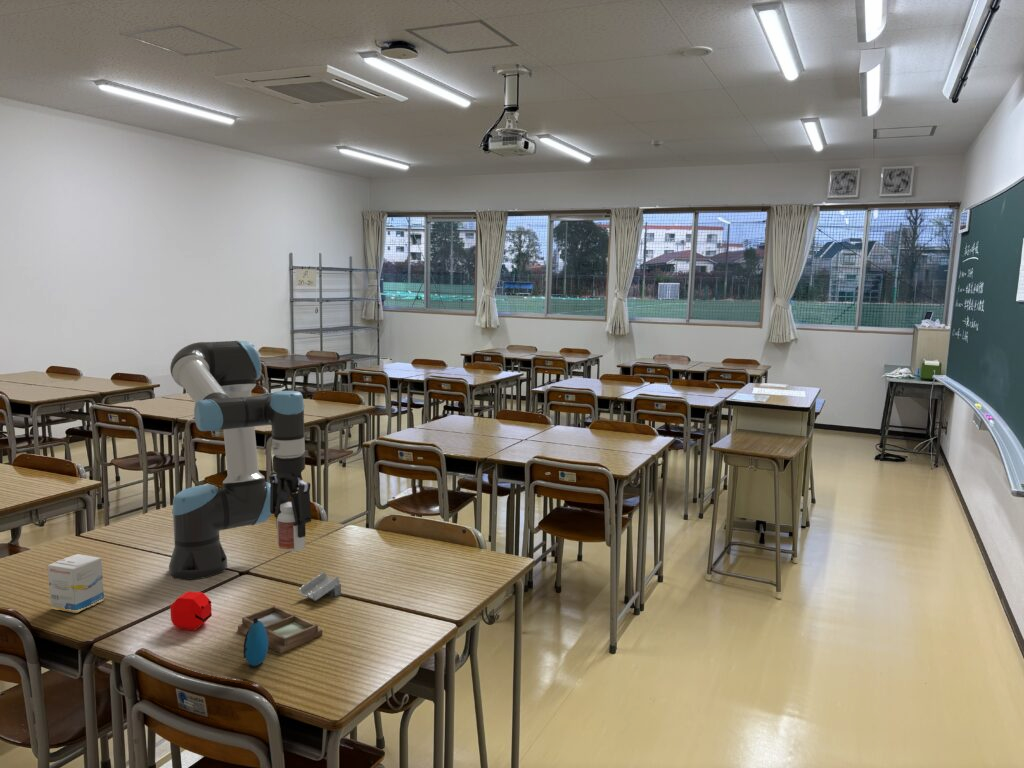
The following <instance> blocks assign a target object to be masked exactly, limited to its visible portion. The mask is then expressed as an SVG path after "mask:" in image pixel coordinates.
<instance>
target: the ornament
mask: <svg viewBox="0 0 1024 768" xmlns="http://www.w3.org/2000/svg"><path fill="white" fill-rule="evenodd" d="M268 651H269V647H268V637H267V633H266V630H265V627H264V625H263V624H262V622H261V621H258V619H257V618H255V619H254V623H253V624H252V625H251V626H250V628H249V630H248V631H247V634H246V635H245V637H244V643H243V658H245V659H246V662H247V664H248V665H250V666H252V667H256V666H259V665H260V664H261V663H263V662H264V661H265V659H266V657H267V654H268Z"/></svg>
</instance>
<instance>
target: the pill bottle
mask: <svg viewBox="0 0 1024 768" xmlns="http://www.w3.org/2000/svg"><path fill="white" fill-rule="evenodd" d="M280 511H281V513H280V514H279V515H278V517H277V523H276V524H277V526H278V544H277V547H278V549H279V550H280V551H283V552H295V551H294V530H293V524H294V523H296V522H295V518H294V513H293V508H292V504H291V501H288V502H286V503H282V504H281V505H280ZM299 520H300V519H299Z"/></svg>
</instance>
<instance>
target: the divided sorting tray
mask: <svg viewBox="0 0 1024 768" xmlns="http://www.w3.org/2000/svg"><path fill="white" fill-rule="evenodd" d="M255 618H257V619H258V621H261V622H262V624H263V625H264V627H265V630H266V633H267V637H268V648H270V649H272V650H274V651H276V652H278V653H279V654H283V653H285V652H287V651H290V650H292V649H294V648H296V647H298V646H300V645H303V644H305V643H308V642H310V641H311V640H314V639H316V638H319V637H320V636H322V635H323V629H321V628H319V625H318V624H316V623H314V622H311V621H310V620H307V619H305V618H303V617H301V616H299V615H296V614H294V613H292V612H290V611H287V610H286V609H283V608H282V607H279V606H277V605H272V606H270V607H267V608H264V609H261V610H259V611H257V612H254V613H252V614H249V615H246V616H244V617H242V619H241V622H242V624H238V625H237V631H238V632H240V633H242V634H243V635H245V636H246V634H247V631H248V630H249V628H250V626H251V625H252V624H253V623H254V619H255Z"/></svg>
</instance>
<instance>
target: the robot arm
mask: <svg viewBox="0 0 1024 768" xmlns="http://www.w3.org/2000/svg"><path fill="white" fill-rule="evenodd" d="M169 366H170V367H169V369H170V371H169V372H170V376H171V377H172V379H173V380H174V382H175V383H176V384H177V385H178V386H179V387H182V388H183V389H184V390H185V391H186V393H187V394H188V396H189V398H191V400H192V401H193V403H194V407H193V408H194V410H193V417H194V422H195V425H196V428H197V429H198V430H199V431H201V432H207V431H208V432H209V431H210V432H218V431H223V439H224V448H225V451H224V452H225V460H226V461H225V462H226V472H227V476H226V478H225V479H224V480H223V481H222V488H221V489H219V488H218V487H217V485H214V484H202V485H201V484H200V485H195V486H191V487H188V488H186V489H183V490H180V491H179V492H177V493H176V494H175V496H174V497H173V499H172V511H171V513H172V515H173V516H172V521H173V536H174V537H173V539H174V540H173V541H174V548H173V550H172V553H171V554H172V555H171V557H170V561H169V564H168V573H169V576H170V575H171V576H172V578H173V577H174V579H177V578H178V579H179V580H197V579H198V580H199V579H203V578H209V577H213V576H215V575H218V574H220V573H222V572H224V571H225V570H226V569H227V568H228V557H227V556H226V553H225V550H224V548H223V546H222V543H221V541H220V531H225V530H230V529H235V528H236V529H237V528H242V527H245V526H255V525H257V524H261V523H265V522H267V521H268V520H269V519H270V517H271V515H274V516H273V517H274V518H275V521H276V525H275V526H276V537H277V538H276V539H277V540H276V541H277V545H278V526H277V517H278V515H279V514H280V513H281V511H280V505H281V504H282V503H286V502H289V499H290V502H291V504H292V508H293V513H294V518H295V522H296V523H294V524H293V530H294V551H293V552H298V551H301V550H304V549H306V524H308V523H310V522H311V523H312V508H311V497H310V496H311V493H310V491H311V483H310V481H309V482H305V481H304V480H303V477H302V472H303V471H304V470H305V468H306V457H305V455H304V453H305V452H306V443H305V404H304V396H303V394H302V392H300V391H297V390H279V391H278V390H277V391H274V392H267V393H266V392H265V393H262V394H261V395H255V396H254V395H253V396H252V390H254V389H255V387H256V386H257V382H256V381H257V380H260V379H261V377H262V362H261V357H260V354H259V351H258V350H257V348H256V346H255V345H254V343H252V342H250V341H246V340H244V341H243V340H226V341H225V340H224V341H200V342H199V341H198V342H193V343H190V344H188V345H186V346H184V347H182V348H181V349H179V350H178V351H177V352H176V353H175V354H174V356H173V358H172V359H171V362H170V365H169ZM263 426H271V439H272V440H271V441H272V442H271V443H272V445H271V447H272V454H273V457H272V471H273V472H274V473H276V474H271V475H269V476H268V478H269V482H268V481H266V478H265V476H264V475H263V474H262V473H261V472H260V470H259V460H258V451H257V449H258V448H257V440H256V439H257V438H256V428H255V427H263ZM299 519H300V520H299ZM171 576H170V577H171Z"/></svg>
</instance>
